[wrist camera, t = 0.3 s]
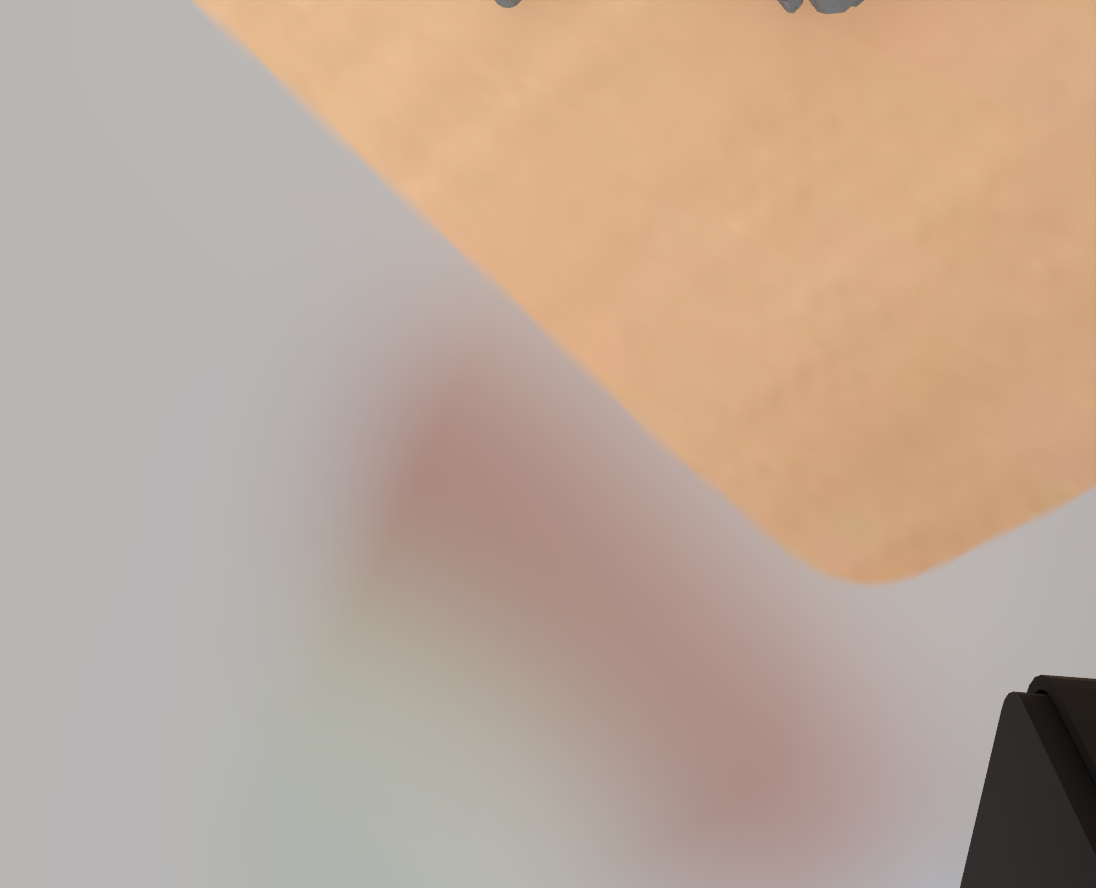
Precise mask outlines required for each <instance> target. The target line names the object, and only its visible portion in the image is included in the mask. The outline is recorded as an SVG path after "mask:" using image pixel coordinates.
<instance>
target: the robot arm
mask: <svg viewBox="0 0 1096 888" xmlns="http://www.w3.org/2000/svg"><path fill="white" fill-rule="evenodd" d="M960 888H1096V679H1089V678H1075V677H1063V676H1049V675H1040V676H1037V677H1035V678H1034V679H1033V681H1032V682H1031V684H1030V685H1029V688H1028V691H1027V693H1023V692H1011V693H1009V694H1008V695H1007V697H1006V698H1005V700H1004V704H1003V707H1002V710H1001V715H1000V718H999V723H998V727H997V731H996V736H995V740H994V745H993V749H992V753H991V757H990V761H989V766H988V770H987V774H986V779H985V783H984V787H983V792H982V796H981V800H980V804H979V809H978V813H977V817H976V821H975V826H974V830H973V834H972V838H971V843H970V847H969V852H968V856H967V860H966V864H965V869H964V873H963V877H962V881H961V886H960Z"/></svg>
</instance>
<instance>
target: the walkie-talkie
mask: <svg viewBox="0 0 1096 888" xmlns="http://www.w3.org/2000/svg"><path fill="white" fill-rule="evenodd" d="M495 1H496V2H497V4H498V5H500V6H502V7H506V8H511V7H514V6H516V5H517V4H518V3H519V2H520V1H521V0H495ZM778 1H779V3H780V4H781V5H782V6H783V8H784V9H785V10H786V11H787V12H788V13H794V12H795V11H796V10H797V9H798V8H799V7H800V6H801V5H802V1H803V0H778ZM809 1H810V2H811V4H812V5H813V6H814V8H815V9H816V10H817V12H820V13H824V14H833V13H842V12H845V11H846V10H847V9H849V8H850V7H851V6H854V7H857V6H858V5H859V4H860V3H861V2H862V1H864V0H809Z"/></svg>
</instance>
